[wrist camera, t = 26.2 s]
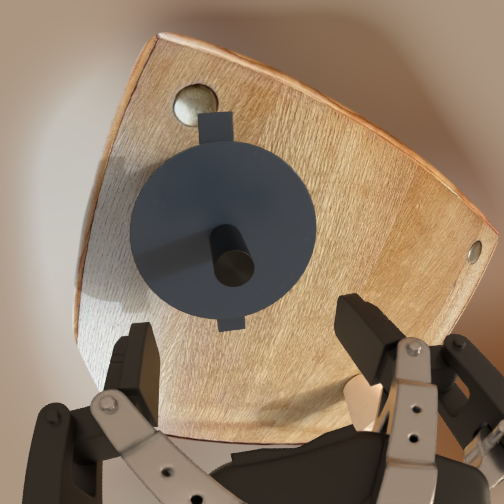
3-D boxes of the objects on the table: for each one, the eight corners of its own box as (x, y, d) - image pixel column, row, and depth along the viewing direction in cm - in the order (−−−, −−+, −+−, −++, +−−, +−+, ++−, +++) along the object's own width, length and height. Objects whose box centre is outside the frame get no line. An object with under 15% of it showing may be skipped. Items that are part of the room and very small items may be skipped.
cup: (323, 390, 45) (347, 439, 35) (369, 356, 44) (401, 401, 34) (346, 406, 49) (368, 447, 39) (386, 376, 48) (414, 415, 38)
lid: (152, 319, 23) (144, 368, 18) (120, 153, 18) (92, 161, 12) (307, 299, 25) (335, 340, 20) (311, 138, 20) (351, 141, 14)
